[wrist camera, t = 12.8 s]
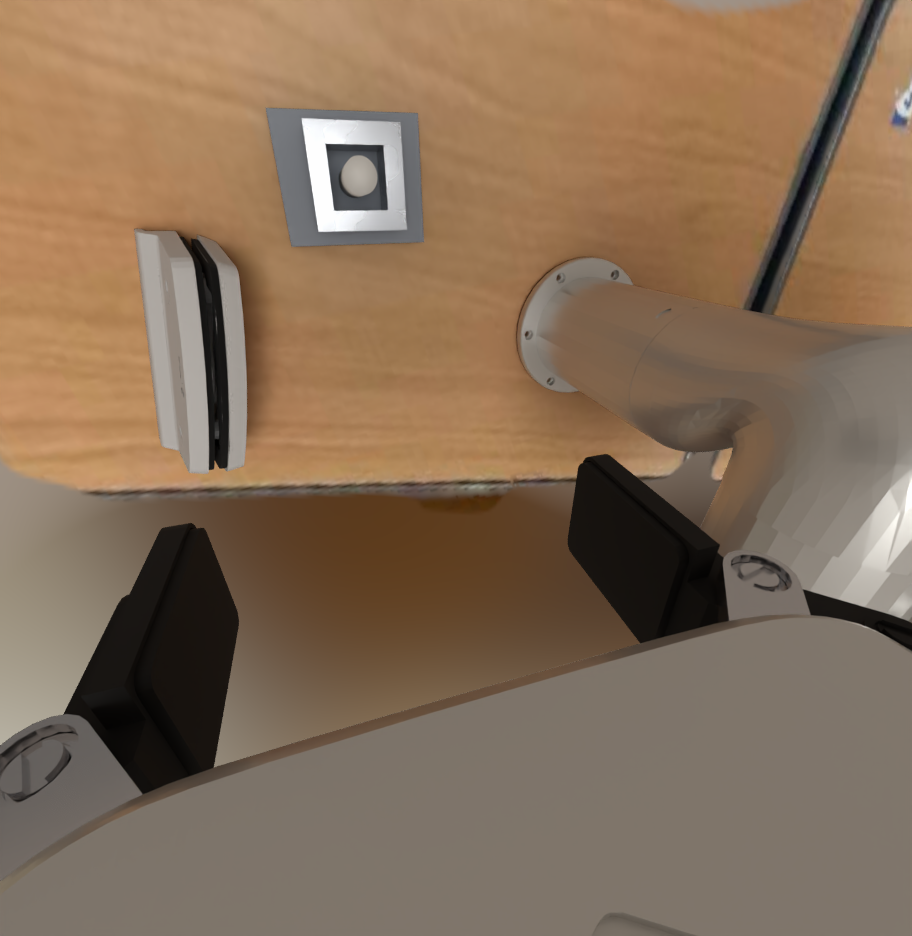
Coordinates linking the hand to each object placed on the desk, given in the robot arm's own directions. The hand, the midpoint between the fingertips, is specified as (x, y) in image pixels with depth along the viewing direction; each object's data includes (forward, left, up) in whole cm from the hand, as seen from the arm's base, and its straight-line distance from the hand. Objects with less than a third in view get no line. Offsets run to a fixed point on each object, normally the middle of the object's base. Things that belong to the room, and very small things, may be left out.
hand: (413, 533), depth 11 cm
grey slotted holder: (+11, +2, -31) cm, 33 cm away
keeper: (-2, -9, -30) cm, 32 cm away
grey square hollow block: (-2, -9, -29) cm, 31 cm away
